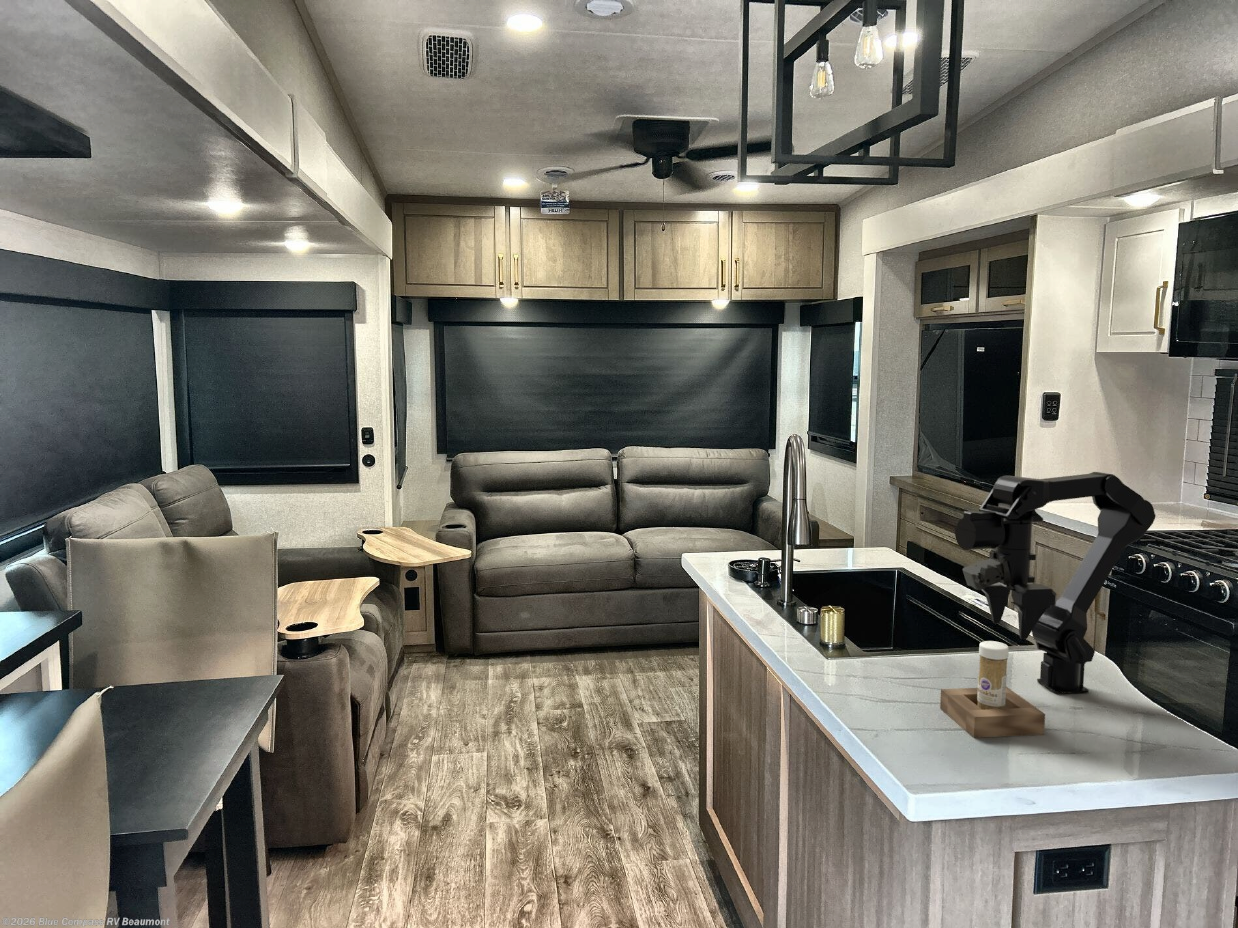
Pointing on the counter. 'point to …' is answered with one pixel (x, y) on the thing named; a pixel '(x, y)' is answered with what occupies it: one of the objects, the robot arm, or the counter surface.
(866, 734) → the counter surface
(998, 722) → the socket block
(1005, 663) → the sprinkles bottle
